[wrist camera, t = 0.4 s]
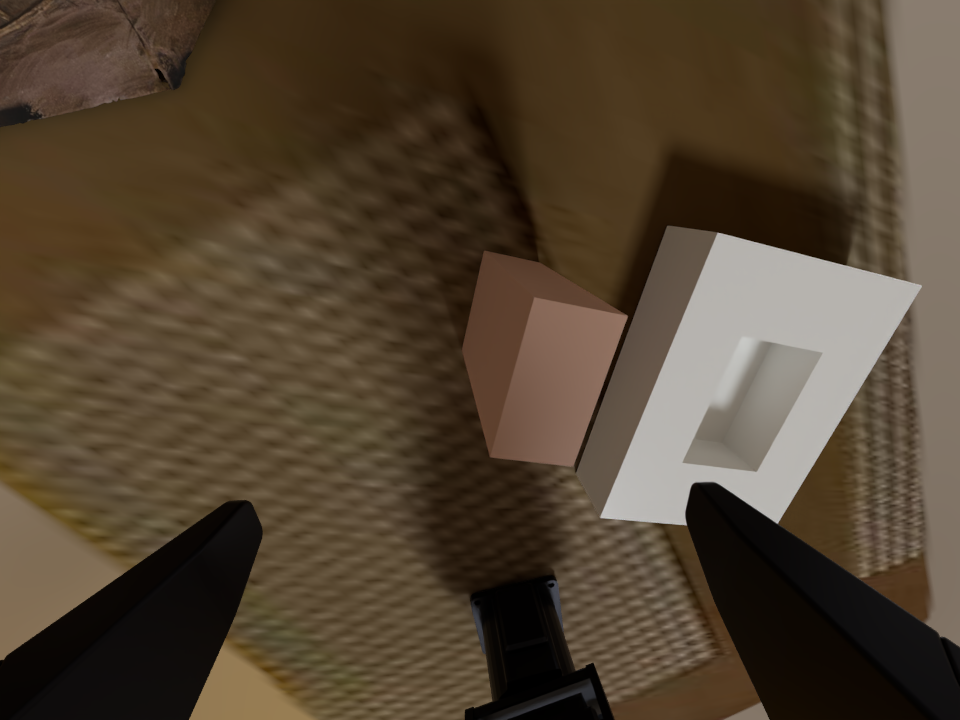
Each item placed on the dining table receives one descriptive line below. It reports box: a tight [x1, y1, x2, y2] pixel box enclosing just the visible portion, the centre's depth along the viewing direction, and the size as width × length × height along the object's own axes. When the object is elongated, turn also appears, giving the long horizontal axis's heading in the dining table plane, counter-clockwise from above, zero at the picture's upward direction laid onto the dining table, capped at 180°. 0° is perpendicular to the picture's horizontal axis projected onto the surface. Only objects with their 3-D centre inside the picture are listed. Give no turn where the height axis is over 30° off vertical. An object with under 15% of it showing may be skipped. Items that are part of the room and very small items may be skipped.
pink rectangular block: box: [462, 250, 628, 467], centre depth 18 cm, size 6×3×10 cm, turn 167°
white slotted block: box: [576, 225, 922, 525], centre depth 24 cm, size 16×12×4 cm
